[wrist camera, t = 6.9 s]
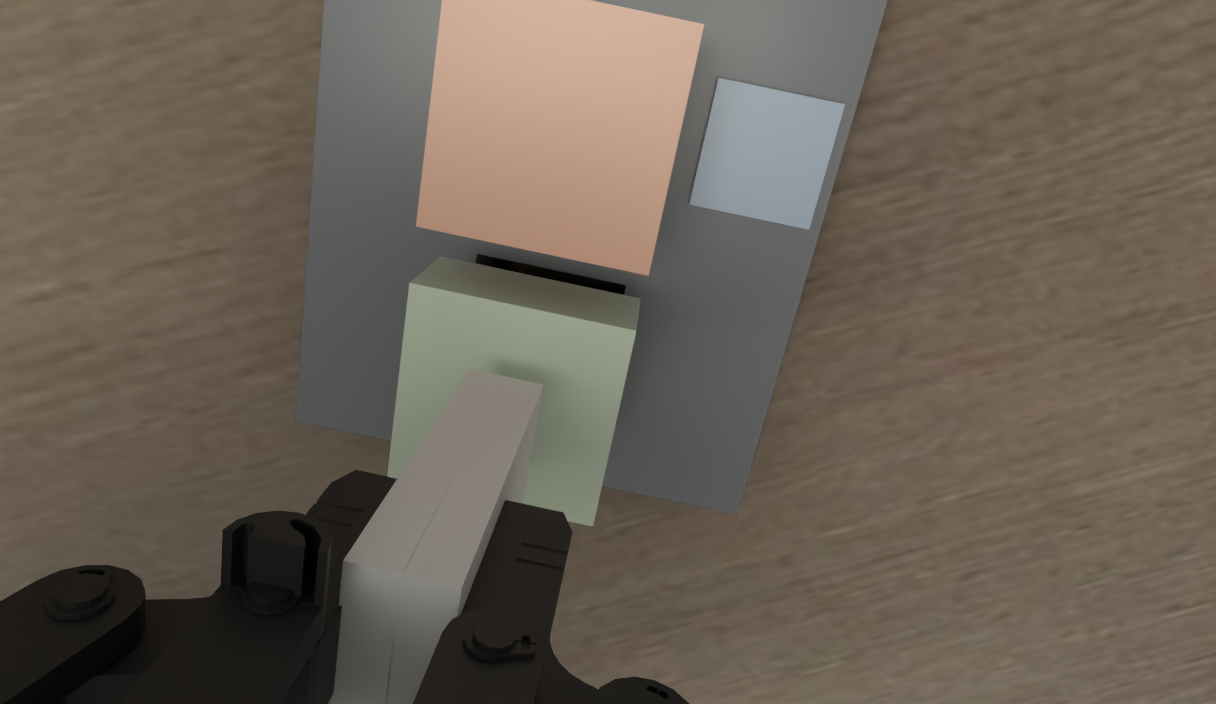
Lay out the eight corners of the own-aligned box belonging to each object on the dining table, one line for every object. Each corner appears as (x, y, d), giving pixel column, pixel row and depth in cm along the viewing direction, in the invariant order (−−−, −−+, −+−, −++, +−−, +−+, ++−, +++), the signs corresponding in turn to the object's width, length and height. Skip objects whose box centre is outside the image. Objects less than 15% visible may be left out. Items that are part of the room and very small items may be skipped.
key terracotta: (654, 227, 21) (648, 275, 16) (471, 189, 21) (415, 226, 17) (697, 31, 19) (704, 23, 15) (499, -11, 19) (445, -31, 15)
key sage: (609, 433, 23) (593, 526, 19) (443, 398, 23) (386, 482, 19) (644, 272, 22) (636, 330, 17) (465, 234, 22) (409, 282, 17)
